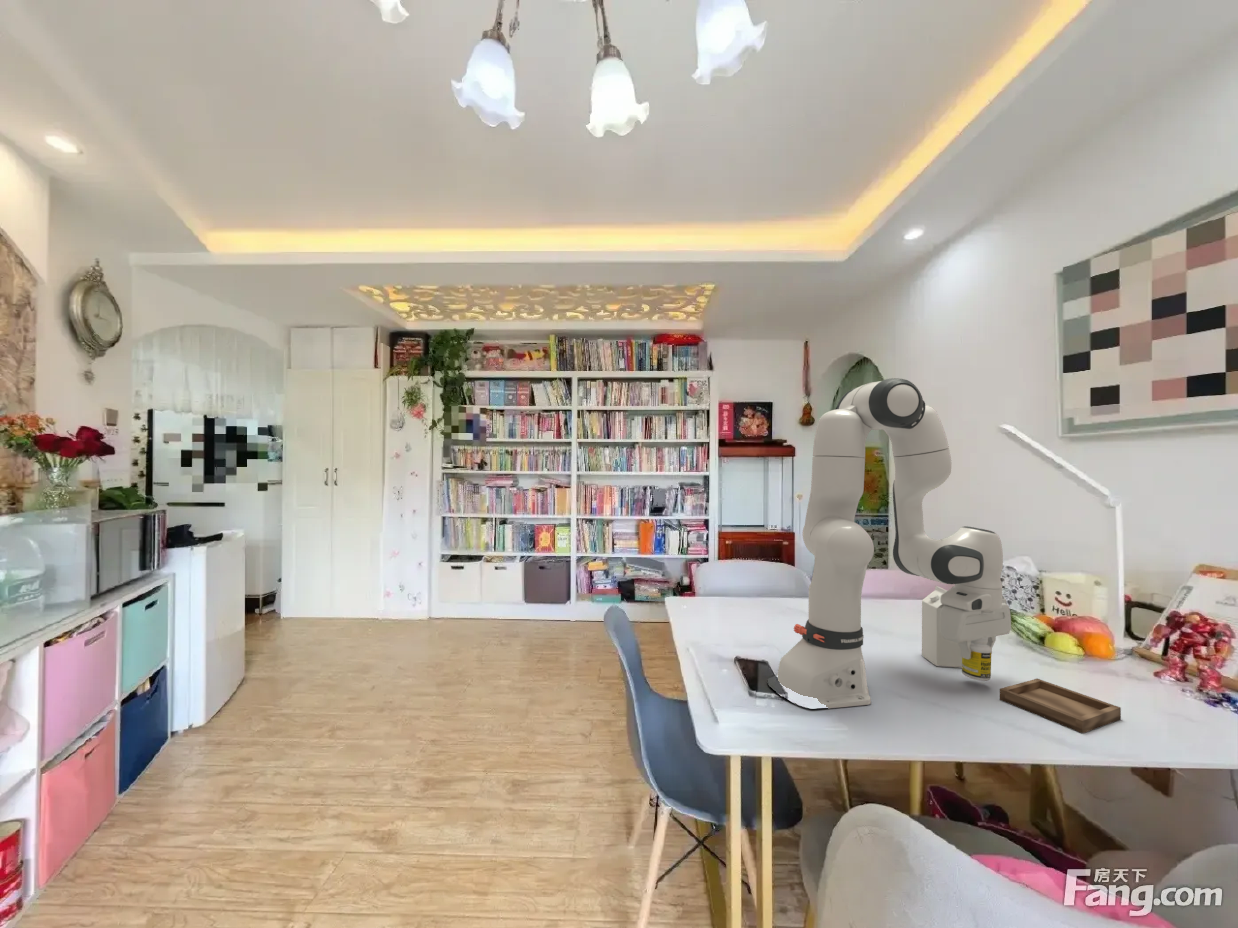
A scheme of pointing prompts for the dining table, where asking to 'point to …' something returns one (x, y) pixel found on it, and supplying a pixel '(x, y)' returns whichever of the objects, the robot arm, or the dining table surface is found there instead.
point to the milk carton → (937, 634)
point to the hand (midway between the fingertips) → (976, 656)
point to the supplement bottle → (978, 661)
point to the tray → (1061, 705)
